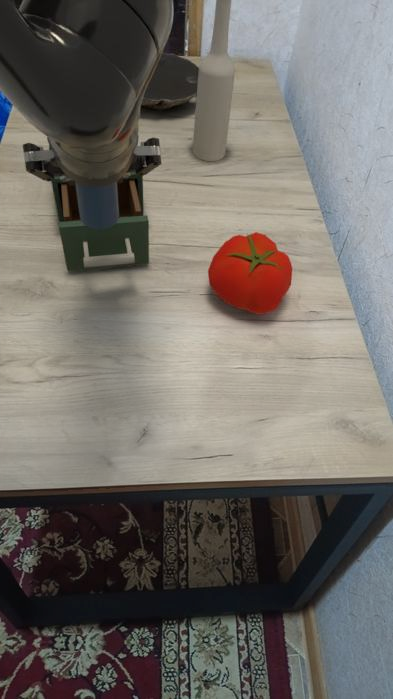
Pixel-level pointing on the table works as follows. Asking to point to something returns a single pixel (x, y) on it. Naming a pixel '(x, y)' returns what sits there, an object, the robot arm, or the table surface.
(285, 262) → the tomato
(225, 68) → the bottle
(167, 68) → the rough clay dish
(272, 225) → the table surface
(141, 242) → the drawer
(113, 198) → the plastic container
